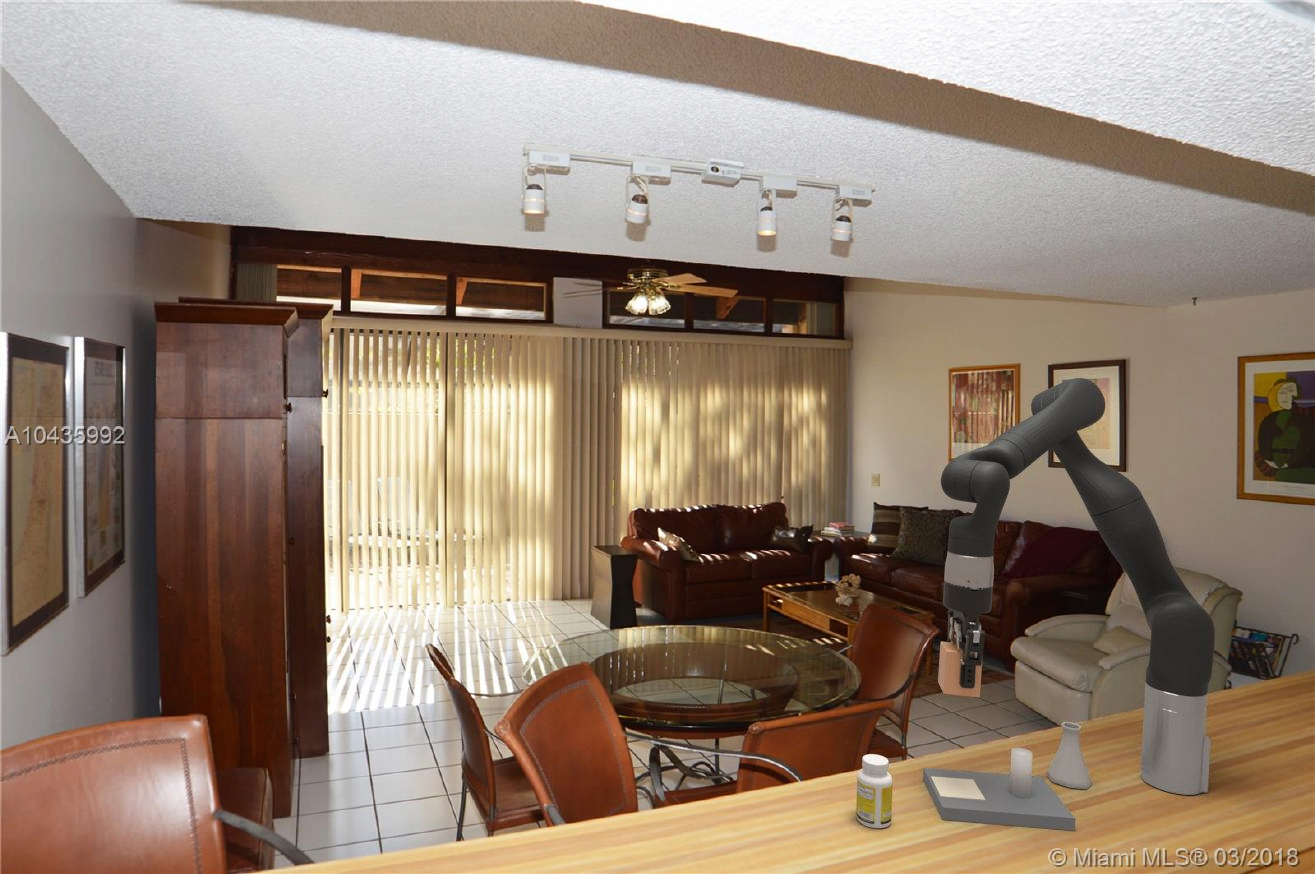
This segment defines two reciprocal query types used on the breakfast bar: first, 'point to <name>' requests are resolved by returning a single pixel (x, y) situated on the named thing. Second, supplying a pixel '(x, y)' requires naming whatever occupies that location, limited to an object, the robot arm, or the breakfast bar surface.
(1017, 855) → the breakfast bar surface
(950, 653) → the slotted tan cube
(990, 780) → the post board
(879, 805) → the supplement bottle
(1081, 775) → the flask
